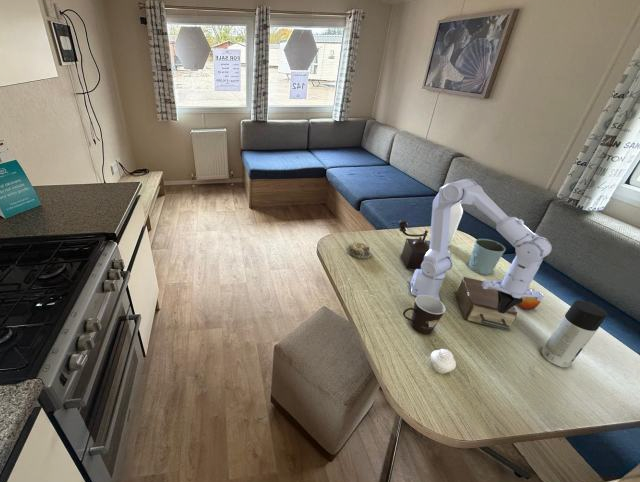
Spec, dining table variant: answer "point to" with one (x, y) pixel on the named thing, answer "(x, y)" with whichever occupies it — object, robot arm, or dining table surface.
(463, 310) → the cabinet
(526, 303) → the fruit
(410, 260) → the manual coffee grinder
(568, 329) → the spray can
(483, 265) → the green plant pot
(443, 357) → the white garlic bulb
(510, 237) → the robot arm
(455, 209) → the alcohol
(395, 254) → the dining table surface
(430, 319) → the coffee mug
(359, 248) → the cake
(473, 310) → the drawer
